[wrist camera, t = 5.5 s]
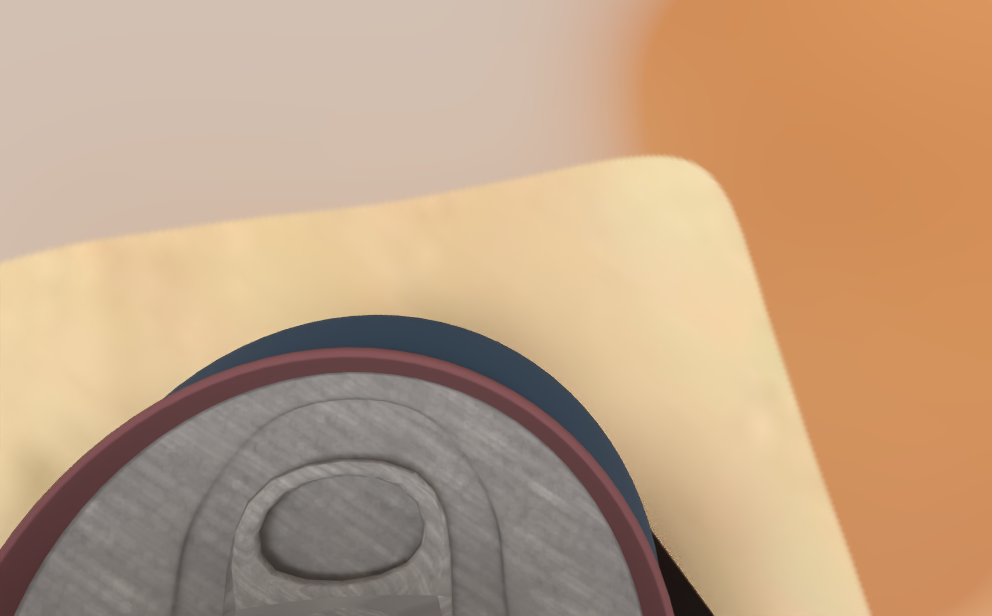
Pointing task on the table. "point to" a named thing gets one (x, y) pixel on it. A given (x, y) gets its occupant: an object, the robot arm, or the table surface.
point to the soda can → (346, 491)
